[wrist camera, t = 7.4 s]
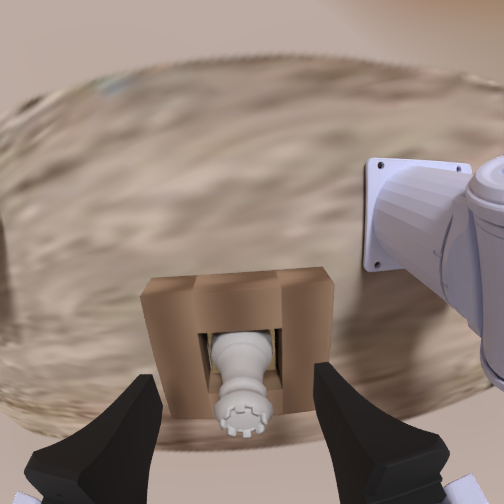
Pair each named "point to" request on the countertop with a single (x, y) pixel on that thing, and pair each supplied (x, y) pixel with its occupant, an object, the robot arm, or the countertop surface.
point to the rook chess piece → (242, 380)
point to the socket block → (239, 319)
